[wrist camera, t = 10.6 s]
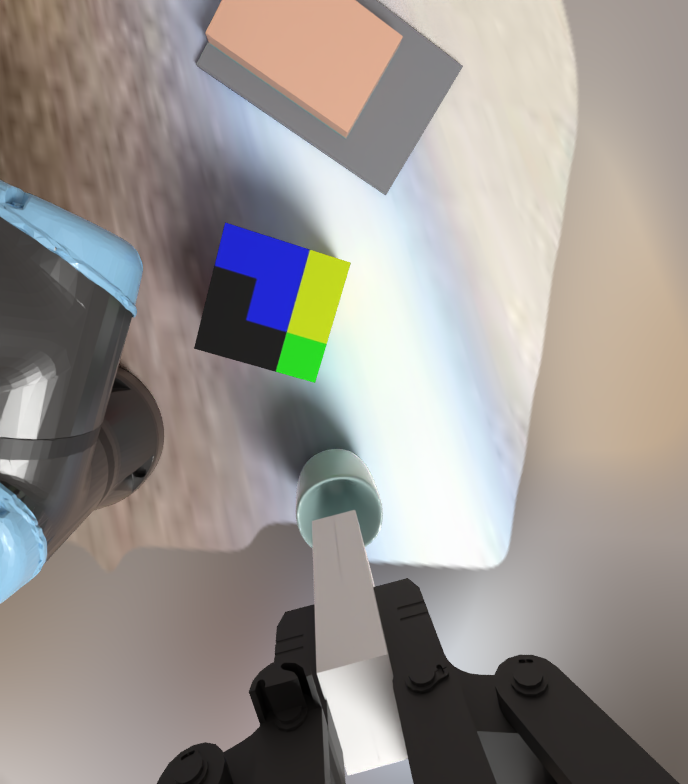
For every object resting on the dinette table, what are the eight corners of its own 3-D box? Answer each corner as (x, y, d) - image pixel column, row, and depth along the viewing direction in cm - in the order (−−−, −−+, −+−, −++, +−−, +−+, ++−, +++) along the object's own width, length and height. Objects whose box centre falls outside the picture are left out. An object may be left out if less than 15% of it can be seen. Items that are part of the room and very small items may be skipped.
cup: (375, 498, 53) (391, 545, 44) (306, 514, 53) (306, 565, 43) (361, 432, 52) (374, 466, 42) (289, 448, 51) (286, 486, 42)
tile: (402, 36, 42) (259, -73, 39) (347, 132, 43) (205, 32, 41) (398, 47, 44) (261, -56, 41) (345, 139, 45) (209, 44, 42)
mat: (461, 68, 45) (462, 66, 44) (385, 195, 47) (386, 194, 46) (271, -77, 41) (270, -81, 41) (197, 66, 43) (196, 64, 43)
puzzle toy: (242, 235, 47) (225, 222, 37) (341, 267, 48) (350, 262, 38) (216, 335, 48) (194, 348, 39) (313, 363, 50) (314, 382, 40)
